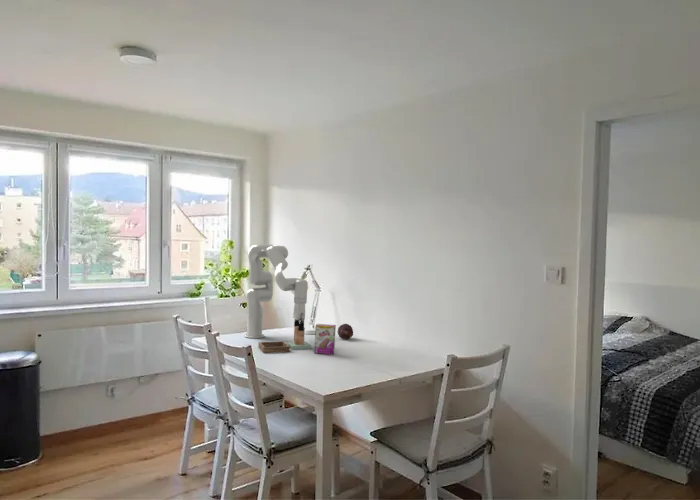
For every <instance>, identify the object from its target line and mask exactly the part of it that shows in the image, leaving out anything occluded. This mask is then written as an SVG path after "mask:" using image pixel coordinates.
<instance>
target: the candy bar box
mask: <svg viewBox="0 0 700 500" xmlns="http://www.w3.org/2000/svg"><path fill="white" fill-rule="evenodd" d="M336 327H337V325H336V324H327V323H326V324H325V323H316V324H315V327H314V328H315V329H314V331H315V332H314V333H315V334H314V354H317V355H331V354H333V355H334V354H335V352H336V332H337V331H336V329H337V328H336Z"/></svg>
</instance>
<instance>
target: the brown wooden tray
mask: <svg viewBox="0 0 700 500" xmlns="http://www.w3.org/2000/svg"><path fill="white" fill-rule="evenodd" d="M257 346H258V349H259V350H260V352H262V354H270V353H271V354H272V353H273V354H275V353H291V352H290V351H291V349H290V346H288V345H287V342H285V341H259V342H258V345H257Z"/></svg>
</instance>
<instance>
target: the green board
mask: <svg viewBox="0 0 700 500" xmlns="http://www.w3.org/2000/svg"><path fill="white" fill-rule="evenodd" d="M286 344H287V345H288V346H290V351H293V350H294V351H295V350H311V349H312V346H313V345H312V344H310V343H309V342H307V341H305V340H304V344H303V345H296V344H294V341H286Z"/></svg>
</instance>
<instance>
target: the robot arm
mask: <svg viewBox="0 0 700 500" xmlns="http://www.w3.org/2000/svg"><path fill="white" fill-rule="evenodd" d="M247 254H248V255H247V256H248V264H249V266H248V269H249V270H248V272H249V273H248V277H249V279H248V281H249V284H250V285H251V286H254V287H252V288H250V289H248V290H247V292H246V300H247V321H246V322H247V327H246V328H247V329H246V330H247V331H246V333H245V334H244V337H245V338H248V339H262V338H264V337H265V334H264V333H263V317H264V316H263V313H264V311H263V309H264V308H263V306H262V304H261V303H266V302H270V301H271V300H272V299H273V294H274V286H273V285H274V284H273V283H274V281H275V282H276V285H277V286H278V288H279V289H280V290H281V291H283V292H290V291H291V292H292V291H293V293H294V295H293V304H294V305H293V314H292V315H293V317H292V318H293V319H294V322H293V324H294V325H293V327H294V326H299V327H298V331H304V328H305V319H306V304H307V303H308V283H309V282H308V281H307V280H306V279H300V278H297V277H291V278H290V277H287V278H286V277H285V275H284V274H283V272H284V270H286V269H287V268H288V265H289V263H288V262H287V258H288V256H289V251H288V249H287V247H286V246H283V245H277V244H261V243H258V244H253V245H251V246H250V248H249V249H248V253H247ZM261 258H265V259H267V258H268V259H269V261H270V263H271V264H272V267H273V268H274V269H275V270H274V279H273V274H272V272H271V271H269V270H263V269H264V266H263V261H262V259H261ZM255 286H261V287H255Z"/></svg>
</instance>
